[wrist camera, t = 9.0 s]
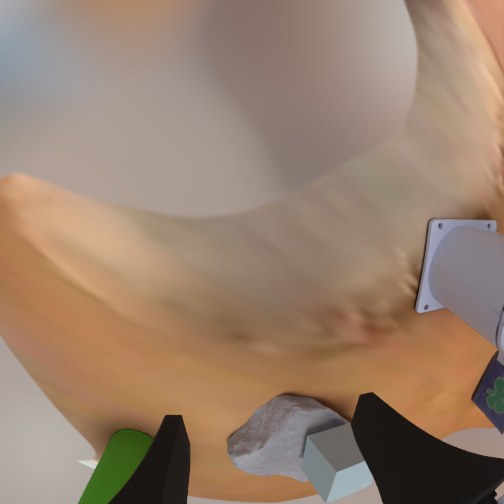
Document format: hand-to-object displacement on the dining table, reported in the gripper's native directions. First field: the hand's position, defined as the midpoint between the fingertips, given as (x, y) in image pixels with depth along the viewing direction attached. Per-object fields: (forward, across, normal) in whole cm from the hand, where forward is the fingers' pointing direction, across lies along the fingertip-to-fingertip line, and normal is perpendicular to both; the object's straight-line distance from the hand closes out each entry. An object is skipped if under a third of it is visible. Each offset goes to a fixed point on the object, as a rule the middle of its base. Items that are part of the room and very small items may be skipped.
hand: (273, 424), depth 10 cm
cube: (+7, -6, +14) cm, 16 cm away
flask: (+11, -33, +16) cm, 38 cm away
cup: (+11, +12, +16) cm, 23 cm away
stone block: (+11, -5, +15) cm, 19 cm away
